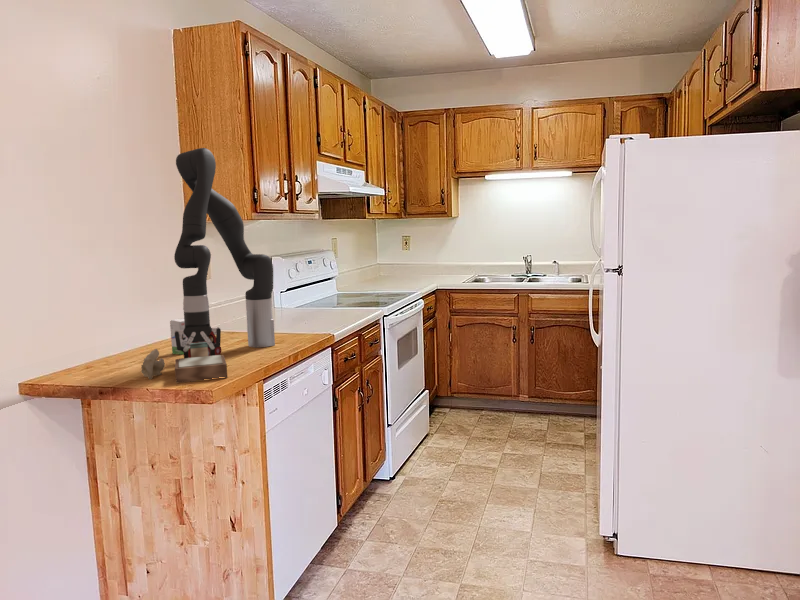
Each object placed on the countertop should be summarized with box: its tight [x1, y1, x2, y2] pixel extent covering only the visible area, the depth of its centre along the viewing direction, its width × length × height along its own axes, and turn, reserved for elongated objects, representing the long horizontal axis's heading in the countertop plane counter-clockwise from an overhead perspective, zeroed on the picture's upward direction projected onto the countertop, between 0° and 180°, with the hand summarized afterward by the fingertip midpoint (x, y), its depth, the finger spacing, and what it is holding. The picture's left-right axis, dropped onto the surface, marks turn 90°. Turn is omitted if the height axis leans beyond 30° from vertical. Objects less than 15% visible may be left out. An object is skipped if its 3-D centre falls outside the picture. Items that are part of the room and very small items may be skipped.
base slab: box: [174, 354, 228, 384], centre depth 183 cm, size 14×14×4 cm
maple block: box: [190, 342, 208, 358], centre depth 195 cm, size 5×5×7 cm
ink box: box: [169, 317, 190, 355], centre depth 217 cm, size 8×5×12 cm, turn 151°
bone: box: [140, 348, 166, 380], centre depth 183 cm, size 9×6×10 cm
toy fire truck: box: [188, 331, 222, 358], centre depth 207 cm, size 7×12×10 cm, turn 158°
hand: (199, 361), depth 195 cm, fingers open, 6 cm apart
